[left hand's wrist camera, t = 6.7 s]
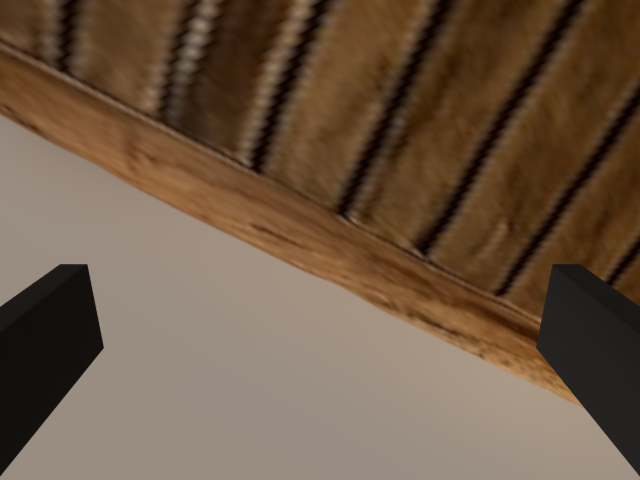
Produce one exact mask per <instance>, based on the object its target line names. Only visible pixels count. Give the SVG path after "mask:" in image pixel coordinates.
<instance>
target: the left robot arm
mask: <svg viewBox="0 0 640 480" xmlns="http://www.w3.org/2000/svg"><path fill="white" fill-rule="evenodd" d="M103 348H104V346H103V341H102V336H101V331H100V326H99V321H98V316H97V311H96V306H95V301H94V296H93V291H92V286H91V281H90V275H89V270H88V265H87V264H60V265H59V266H57V267H56V268H54V269H53V270H51V271H50V272H49V273H47V274H46V275H44V276H43V277H42V278H40V279H39V280H37V281H36V282H35V283H33V284H32V285H30V286H29V287H27V288H26V289H25V290H23V291H22V292H20V293H19V294H18V295H16V296H15V297H13V298H12V299H11V300H9V301H8V302H6V303H5V304H4V305H2V306H1V307H0V476H1V475H2V473H3V472H4V471H5V470H6V468H7V467H8V466H9V465H10V464H11V462H12V461H13V460H14V459H15V457H16V456H17V455H18V454H19V452H20V451H21V450H22V449H23V447H24V446H25V445H26V444H27V443H28V441H29V440H30V439H31V437H32V436H33V435H34V434H35V433H36V431H37V430H38V429H39V428H40V426H41V425H42V424H43V423H44V421H45V420H46V419H47V418H48V416H49V415H50V414H51V413H52V411H53V410H54V409H55V408H56V407H57V405H58V404H59V403H60V402H61V400H62V399H63V398H64V397H65V395H66V394H67V393H68V392H69V390H70V389H71V388H72V387H73V385H74V384H75V383H76V382H77V381H78V379H79V378H80V377H81V376H82V374H83V373H84V372H85V371H86V369H87V368H88V367H89V366H90V364H91V363H92V362H93V361H94V359H95V358H96V357H97V356H98V354H99V353H100V352H101V351H102V350H103ZM536 348H537V350H538V351H539V352H540V353H541V355H542V356H543V357H544V358H545V359H546V361H547V362H548V363H549V364H550V366H551V367H552V368H553V369H554V371H555V372H556V373H557V374H558V376H559V377H560V378H561V379H562V381H563V382H564V383H565V384H566V386H567V387H568V388H569V389H570V390H571V392H572V393H573V394H574V395H575V397H576V398H577V399H578V400H579V402H580V403H581V404H582V405H583V407H584V408H585V409H586V410H587V412H588V413H589V414H590V415H591V416H592V418H593V419H594V420H595V421H596V423H597V424H598V425H599V426H600V428H601V429H602V430H603V431H604V433H605V434H606V435H607V436H608V438H609V439H610V440H611V441H612V443H613V444H614V445H615V446H616V447H617V449H618V450H619V451H620V452H621V454H622V455H623V456H624V457H625V459H626V460H627V461H628V462H629V464H630V465H631V466H632V467H633V469H634V470H635V471H636V472H637V473H638V475H639V476H640V307H639V306H638V305H637V304H635V303H634V302H632V301H631V300H629V299H628V298H627V297H625V296H624V295H622V294H621V293H620V292H618V291H617V290H615V289H614V288H613V287H611V286H610V285H608V284H607V283H605V282H604V281H603V280H601V279H600V278H598V277H597V276H596V275H594V274H593V273H591V272H590V271H589V270H587V269H586V268H584V267H583V266H582V265H580V264H553V265H552V270H551V275H550V280H549V286H548V291H547V296H546V301H545V306H544V311H543V316H542V321H541V326H540V331H539V336H538V341H537V346H536Z"/></svg>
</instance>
